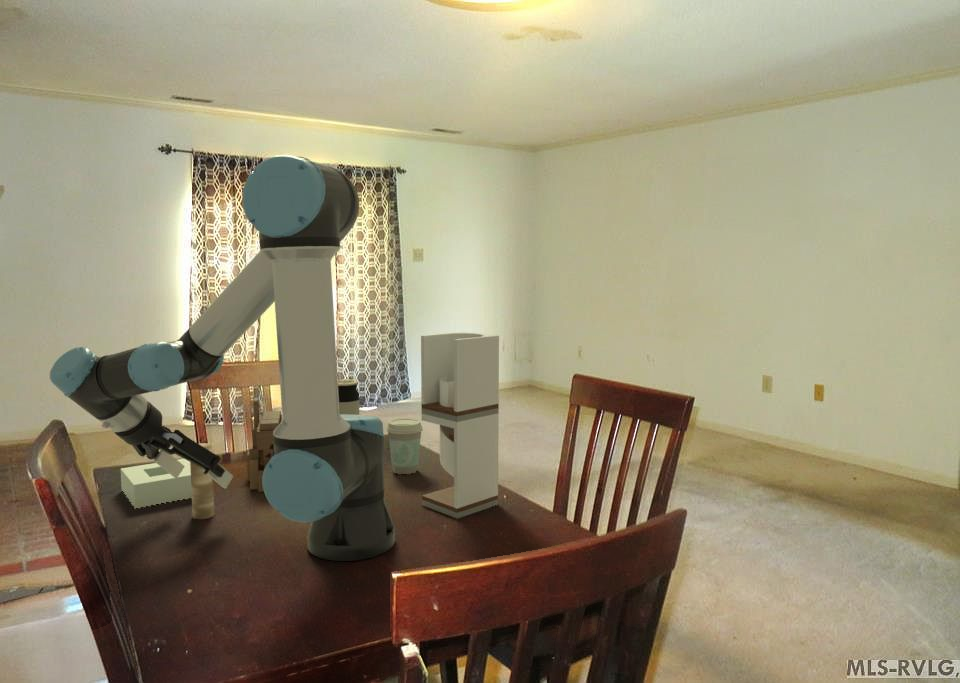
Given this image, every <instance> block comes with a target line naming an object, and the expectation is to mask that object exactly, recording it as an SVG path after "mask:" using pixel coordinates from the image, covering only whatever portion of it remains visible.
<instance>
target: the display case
mask: <svg viewBox="0 0 960 683" xmlns="http://www.w3.org/2000/svg"><path fill="white" fill-rule="evenodd" d="M499 356H500V335H497V334H496V335H494V334H487V333H477V332H467V331H459V332H447V333H438V334H437V333H436V334H435V333H434V334H426V335H425V334H422V335H420V366H421V370H420V372H421V373H420V378H421V380H420V382H421V388H420V389H421V390H420V391H421V392H420V393H421V396H420V397H421V407H420V408H421V421H423V422H426V423H427V422H428V423H431V424H435V425H439V460H440V461H439V463H440V465H441V467H442V468H443V469H444V471H445V472H446V473H447V474H448V475H449V476H452V478H453V486H449V487H446V488H444V489H440V490H435V491H432V492H429V493H426V494H423V495H421V505H422V506H424V507H425V508H429V509H431V510H434V511H435V512H439V513H441V514H444V515H446V516H449V517H451V518H453V519H460V518H464V517H467V516H469V515H473V514H476V513H479V512H481V511H483V510H487V509H490V508H493V507H496V506H497V505H499V422H500V421H499V414H500V413H499V408H500V407H499V406H500V405H499V401H500V400H499V399H500V396H499V394H500V392H499V389H500V387H499V386H500V383H499V382H500V381H499V380H500V379H499V378H500V376H499V374H500V373H499V372H500V357H499ZM495 505H496V506H495ZM492 506H493V507H492Z"/></svg>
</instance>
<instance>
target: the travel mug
mask: <svg viewBox="0 0 960 683" xmlns="http://www.w3.org/2000/svg"><path fill="white" fill-rule="evenodd" d="M358 383H359V381H358V380H356V379H338V395H339V413H340V415H342V414H346V415H360V392H359V390H358V389H357V386H358Z"/></svg>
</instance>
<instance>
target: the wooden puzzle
mask: <svg viewBox="0 0 960 683" xmlns="http://www.w3.org/2000/svg"><path fill="white" fill-rule="evenodd" d="M252 407H253V408H252V409H253V426H252V430H251V433H252V434H251V435H252V437H251V440H252V442H251V444H252V446H249V449H248V451H247V452H246V453H247V454H246V468H247V469H246V472H247V473H246V474H247V475H246V476H247V478H246V479H247V481H249V489H250V491H251V490H253V491H254V490H256V491H257V492H258V493H261V492H262V493H264V490H263V484H262V478H263V472H264V469H265V467H266V465H267V464H268V462H269V461H270V459H271V458H272V457H273V456H274V440H273V431H274V430H275V429H276V427H277V426H278V425H279V424H280V423H281V422H282V410H267V411H263V412H262V415H261V418H260V401H259V398H258V397H255V398H254V399H253V405H252Z"/></svg>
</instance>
